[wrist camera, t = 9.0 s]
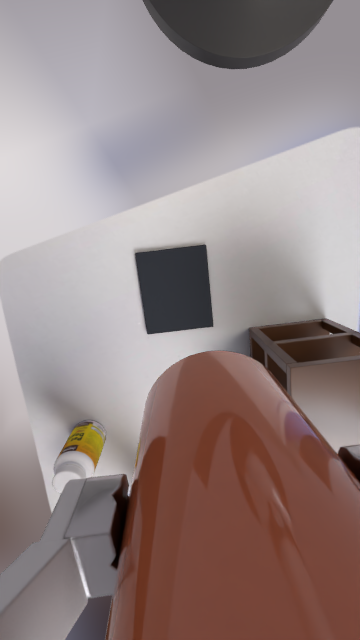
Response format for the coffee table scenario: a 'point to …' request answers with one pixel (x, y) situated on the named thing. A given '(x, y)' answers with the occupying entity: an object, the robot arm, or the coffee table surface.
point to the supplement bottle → (79, 454)
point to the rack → (316, 372)
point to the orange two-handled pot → (235, 515)
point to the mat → (175, 289)
